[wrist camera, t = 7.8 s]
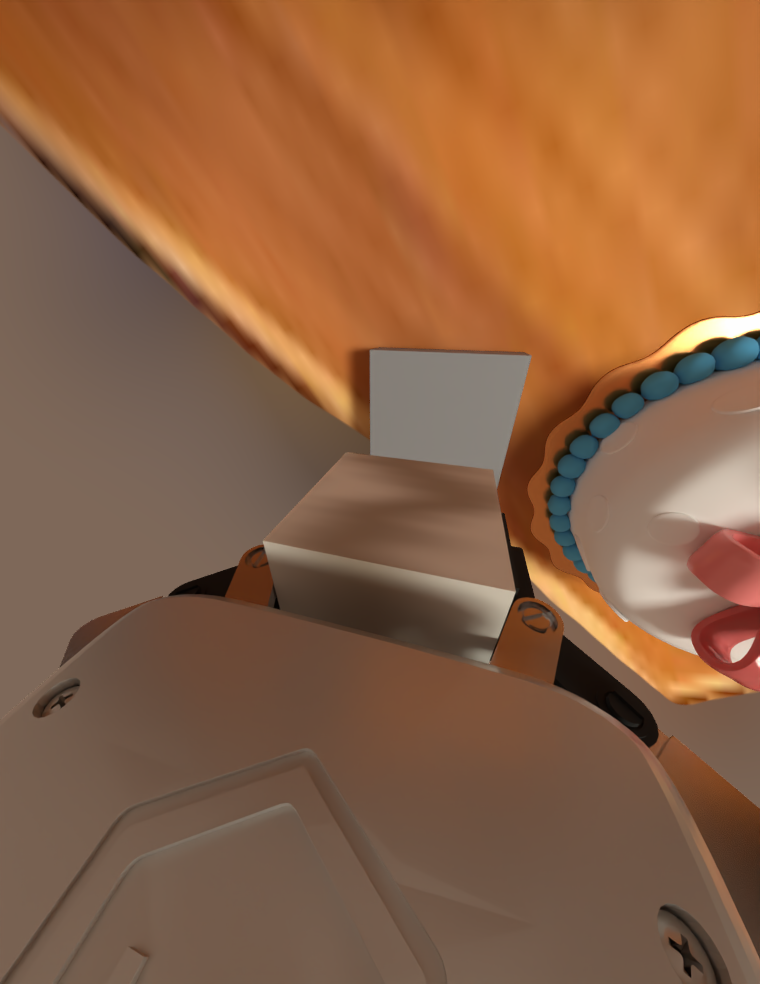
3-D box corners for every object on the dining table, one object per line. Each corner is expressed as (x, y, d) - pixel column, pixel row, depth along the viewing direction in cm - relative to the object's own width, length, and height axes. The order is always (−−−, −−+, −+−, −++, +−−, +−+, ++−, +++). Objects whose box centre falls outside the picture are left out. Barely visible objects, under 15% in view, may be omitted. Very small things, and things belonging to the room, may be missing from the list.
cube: (493, 469, 11) (515, 591, 6) (466, 579, 14) (466, 720, 9) (346, 452, 12) (262, 540, 7) (351, 556, 15) (295, 668, 10)
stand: (524, 352, 23) (531, 355, 20) (491, 483, 29) (494, 498, 26) (379, 347, 25) (369, 349, 23) (378, 469, 31) (370, 481, 29)
